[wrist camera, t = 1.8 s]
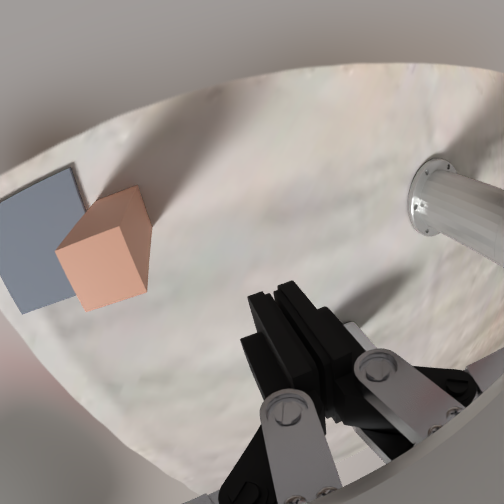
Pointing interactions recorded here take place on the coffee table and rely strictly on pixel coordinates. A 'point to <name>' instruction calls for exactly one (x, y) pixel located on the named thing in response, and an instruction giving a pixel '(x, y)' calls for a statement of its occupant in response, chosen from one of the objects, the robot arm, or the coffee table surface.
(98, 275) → the terracotta block
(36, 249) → the mat
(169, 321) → the coffee table surface
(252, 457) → the robot arm
